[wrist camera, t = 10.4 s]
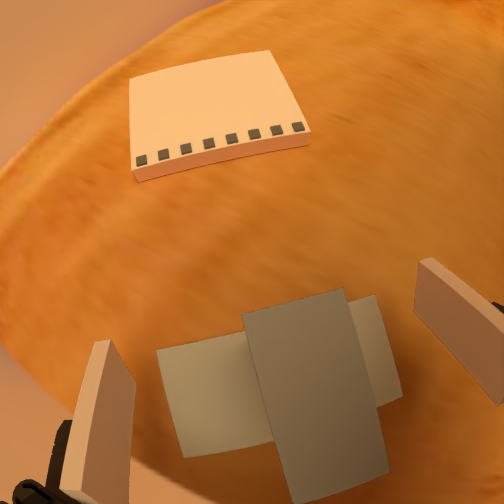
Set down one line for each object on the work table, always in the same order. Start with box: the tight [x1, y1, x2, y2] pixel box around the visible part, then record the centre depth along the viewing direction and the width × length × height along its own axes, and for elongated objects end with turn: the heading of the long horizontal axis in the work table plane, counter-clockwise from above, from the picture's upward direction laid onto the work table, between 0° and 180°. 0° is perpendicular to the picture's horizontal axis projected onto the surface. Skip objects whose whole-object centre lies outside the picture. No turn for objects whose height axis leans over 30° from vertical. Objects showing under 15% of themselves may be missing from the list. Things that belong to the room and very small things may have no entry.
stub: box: [156, 287, 403, 504], centre depth 12 cm, size 6×12×10 cm, turn 104°
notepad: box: [129, 50, 311, 182], centre depth 22 cm, size 10×12×2 cm
